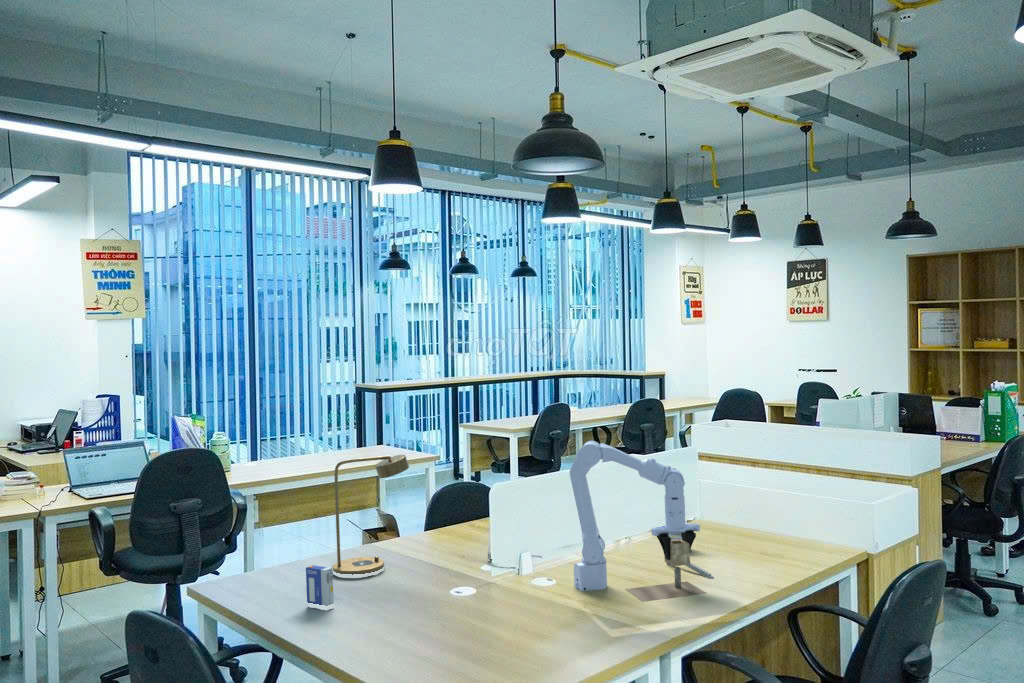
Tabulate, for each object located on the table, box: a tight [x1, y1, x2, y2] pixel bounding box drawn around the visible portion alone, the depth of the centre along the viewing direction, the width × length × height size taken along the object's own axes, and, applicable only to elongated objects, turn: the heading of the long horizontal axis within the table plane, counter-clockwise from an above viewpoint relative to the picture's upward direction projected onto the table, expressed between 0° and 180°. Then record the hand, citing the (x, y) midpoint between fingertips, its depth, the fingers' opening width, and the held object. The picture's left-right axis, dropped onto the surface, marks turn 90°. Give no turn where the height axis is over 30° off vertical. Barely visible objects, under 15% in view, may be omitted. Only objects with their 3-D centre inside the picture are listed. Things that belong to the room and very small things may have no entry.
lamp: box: [331, 454, 410, 575], centre depth 262 cm, size 17×27×38 cm, turn 113°
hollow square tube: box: [664, 539, 691, 567], centre depth 225 cm, size 5×5×6 cm
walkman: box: [305, 564, 335, 606], centre depth 223 cm, size 8×3×12 cm, turn 60°
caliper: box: [665, 561, 715, 579], centre depth 246 cm, size 20×1×6 cm, turn 31°
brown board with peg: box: [625, 566, 707, 603], centre depth 222 cm, size 20×12×7 cm, turn 105°
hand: (677, 558), depth 225 cm, fingers closed on hollow square tube, 5 cm apart
